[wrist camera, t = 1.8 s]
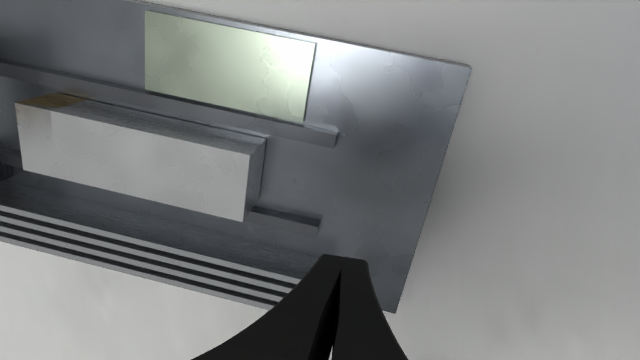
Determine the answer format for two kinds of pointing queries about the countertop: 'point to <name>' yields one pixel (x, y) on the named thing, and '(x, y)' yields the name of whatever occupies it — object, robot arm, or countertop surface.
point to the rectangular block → (141, 154)
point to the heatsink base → (241, 117)
